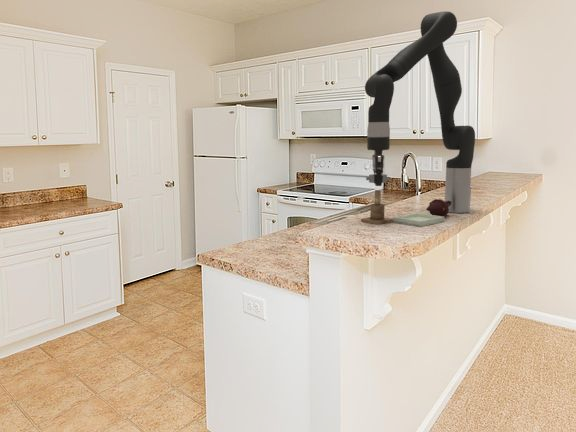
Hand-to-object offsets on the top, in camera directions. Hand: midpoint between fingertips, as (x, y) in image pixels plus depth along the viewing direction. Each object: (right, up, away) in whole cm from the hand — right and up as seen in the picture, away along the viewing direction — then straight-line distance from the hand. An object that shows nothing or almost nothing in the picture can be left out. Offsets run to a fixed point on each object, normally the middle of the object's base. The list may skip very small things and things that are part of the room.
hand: (377, 184), depth 161 cm
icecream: (+24, -12, +10) cm, 29 cm away
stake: (0, -13, +2) cm, 13 cm away
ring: (0, +1, 0) cm, 1 cm away
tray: (+14, -13, 0) cm, 19 cm away
